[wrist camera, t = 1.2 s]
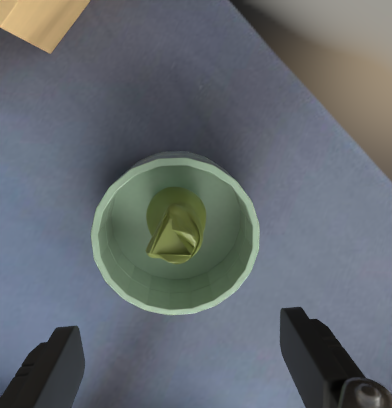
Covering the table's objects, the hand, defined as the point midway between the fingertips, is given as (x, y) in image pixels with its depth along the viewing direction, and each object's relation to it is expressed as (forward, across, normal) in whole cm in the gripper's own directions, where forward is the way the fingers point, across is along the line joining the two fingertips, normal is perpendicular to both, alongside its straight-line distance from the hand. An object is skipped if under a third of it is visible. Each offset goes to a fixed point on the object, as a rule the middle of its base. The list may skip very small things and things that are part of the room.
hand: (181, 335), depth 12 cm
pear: (+20, 0, 0) cm, 20 cm away
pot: (+20, 0, +2) cm, 20 cm away
